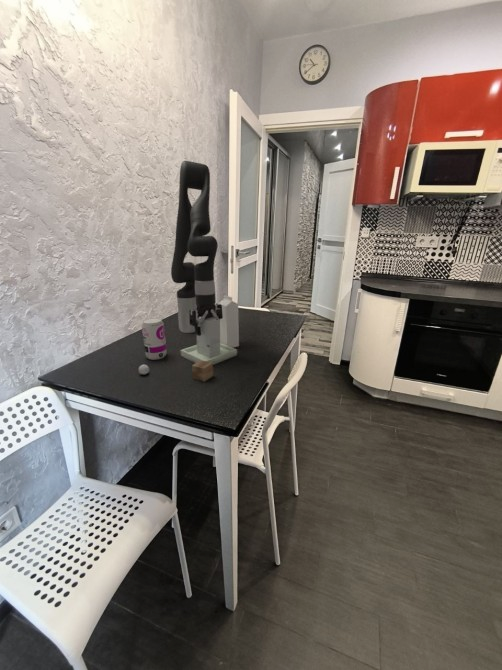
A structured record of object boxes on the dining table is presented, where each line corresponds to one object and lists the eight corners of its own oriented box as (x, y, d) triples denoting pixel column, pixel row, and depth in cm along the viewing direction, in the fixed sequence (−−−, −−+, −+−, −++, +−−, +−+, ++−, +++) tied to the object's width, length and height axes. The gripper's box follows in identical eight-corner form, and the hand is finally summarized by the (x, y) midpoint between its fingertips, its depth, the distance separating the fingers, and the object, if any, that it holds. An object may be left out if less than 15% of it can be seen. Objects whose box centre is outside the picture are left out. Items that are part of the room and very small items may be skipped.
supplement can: (170, 353, 125) (167, 318, 120) (158, 361, 118) (154, 324, 113) (154, 351, 128) (149, 316, 123) (141, 358, 120) (136, 322, 115)
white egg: (137, 374, 108) (136, 365, 107) (146, 370, 110) (145, 362, 109) (142, 377, 106) (140, 368, 105) (151, 373, 108) (150, 364, 107)
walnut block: (192, 378, 105) (191, 365, 103) (201, 372, 109) (200, 360, 107) (204, 381, 103) (203, 368, 101) (213, 375, 107) (212, 362, 105)
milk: (227, 349, 129) (225, 298, 122) (220, 345, 134) (217, 295, 126) (239, 345, 133) (238, 296, 125) (231, 341, 137) (230, 293, 129)
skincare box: (196, 352, 123) (194, 317, 118) (208, 348, 128) (206, 314, 122) (210, 358, 118) (208, 321, 113) (221, 353, 122) (220, 318, 117)
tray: (181, 355, 123) (180, 350, 122) (212, 345, 134) (211, 339, 133) (205, 367, 112) (205, 361, 112) (237, 355, 123) (236, 349, 122)
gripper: (213, 287, 121) (215, 326, 127) (183, 293, 112) (186, 334, 117) (226, 290, 116) (227, 330, 122) (195, 296, 107) (198, 339, 112)
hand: (207, 332), depth 120 cm, fingers open, 8 cm apart
